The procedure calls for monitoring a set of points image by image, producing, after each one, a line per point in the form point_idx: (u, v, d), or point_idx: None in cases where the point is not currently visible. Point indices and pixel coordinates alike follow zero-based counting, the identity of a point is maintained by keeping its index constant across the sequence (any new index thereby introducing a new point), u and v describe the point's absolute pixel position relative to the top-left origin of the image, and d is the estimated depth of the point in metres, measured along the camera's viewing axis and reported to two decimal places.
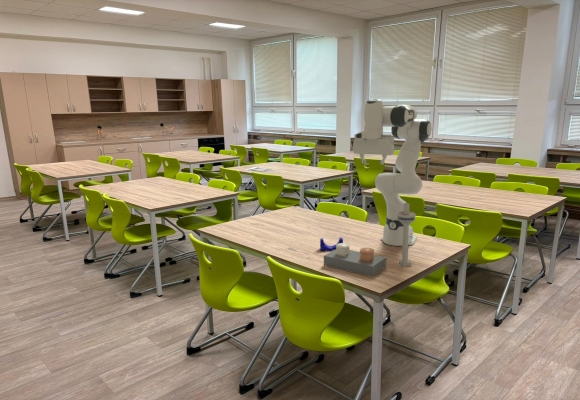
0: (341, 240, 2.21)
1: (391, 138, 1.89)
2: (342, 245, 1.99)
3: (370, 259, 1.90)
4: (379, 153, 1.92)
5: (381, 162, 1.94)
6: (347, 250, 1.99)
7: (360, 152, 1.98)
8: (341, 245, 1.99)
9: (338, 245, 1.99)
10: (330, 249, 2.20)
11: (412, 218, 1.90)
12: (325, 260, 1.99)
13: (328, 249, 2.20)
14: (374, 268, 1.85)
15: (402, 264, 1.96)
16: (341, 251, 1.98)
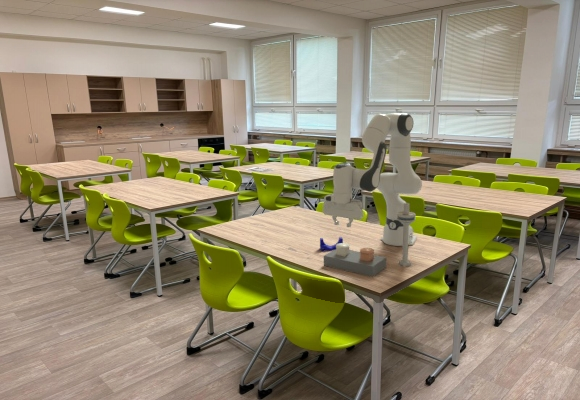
0: (341, 240, 2.21)
1: (359, 203, 1.89)
2: (342, 245, 1.99)
3: (370, 259, 1.90)
4: (348, 217, 1.93)
5: (348, 225, 1.95)
6: (347, 250, 1.99)
7: (330, 214, 1.98)
8: (341, 245, 1.99)
9: (338, 245, 1.99)
10: (330, 249, 2.21)
11: (412, 218, 1.90)
12: (325, 260, 1.99)
13: (328, 249, 2.21)
14: (374, 268, 1.85)
15: (402, 264, 1.96)
16: (341, 251, 1.98)
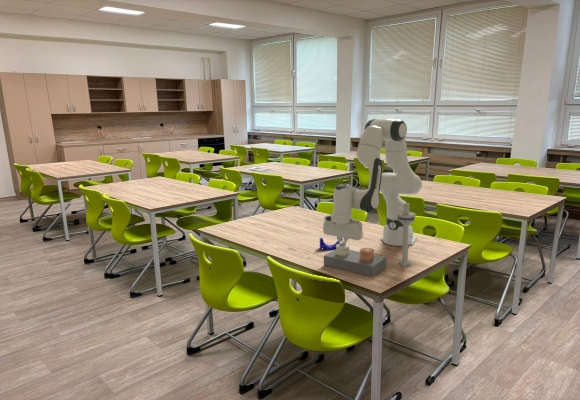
0: None
1: (359, 224, 1.91)
2: None
3: (370, 259, 1.90)
4: (348, 237, 1.95)
5: (343, 244, 1.98)
6: (347, 250, 1.99)
7: (330, 234, 2.00)
8: None
9: (338, 245, 1.99)
10: (330, 248, 2.21)
11: (412, 218, 1.90)
12: (325, 260, 1.99)
13: (328, 248, 2.21)
14: (374, 268, 1.85)
15: (402, 264, 1.96)
16: (341, 251, 1.98)
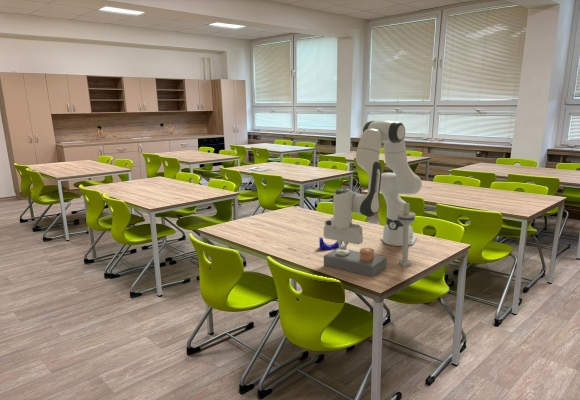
0: None
1: (359, 228, 1.92)
2: (342, 251, 2.00)
3: (370, 259, 1.90)
4: (348, 241, 1.95)
5: (343, 248, 1.99)
6: None
7: (330, 238, 2.01)
8: (341, 251, 2.00)
9: (338, 251, 2.00)
10: (330, 248, 2.22)
11: (412, 218, 1.90)
12: (325, 260, 1.99)
13: (328, 248, 2.22)
14: (374, 268, 1.85)
15: (402, 264, 1.96)
16: None
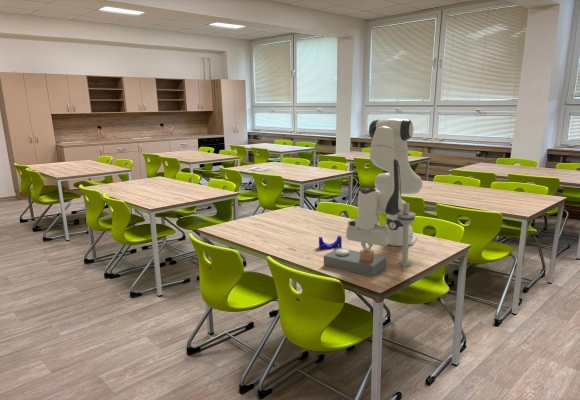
0: (340, 238, 2.24)
1: (385, 229, 1.83)
2: (342, 251, 2.00)
3: None
4: (373, 243, 1.87)
5: (367, 250, 1.90)
6: None
7: (354, 239, 1.93)
8: (341, 251, 2.00)
9: (338, 251, 2.00)
10: (329, 247, 2.23)
11: (412, 218, 1.90)
12: (325, 260, 1.99)
13: (327, 247, 2.23)
14: (374, 268, 1.85)
15: (402, 264, 1.96)
16: None
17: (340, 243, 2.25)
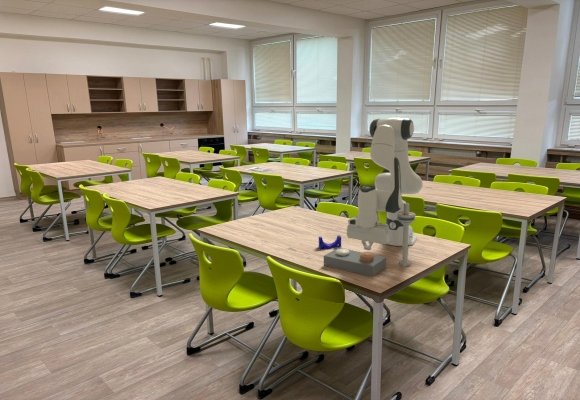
0: (339, 238, 2.25)
1: (386, 227, 1.84)
2: (342, 251, 2.00)
3: None
4: (373, 241, 1.87)
5: (368, 248, 1.91)
6: None
7: (354, 237, 1.93)
8: (341, 251, 2.00)
9: (338, 251, 2.00)
10: (329, 247, 2.24)
11: (412, 218, 1.90)
12: (325, 260, 1.99)
13: (327, 247, 2.24)
14: (374, 268, 1.85)
15: (402, 264, 1.96)
16: None
17: (340, 243, 2.26)
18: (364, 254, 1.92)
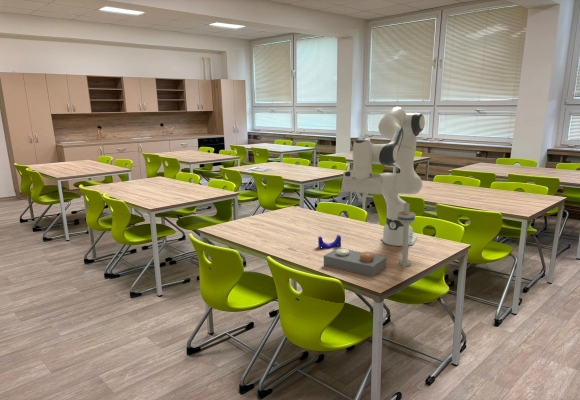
0: (339, 237, 2.26)
1: (380, 178, 1.88)
2: (342, 251, 2.00)
3: None
4: (368, 192, 1.91)
5: (362, 200, 1.95)
6: None
7: (349, 190, 1.97)
8: (341, 251, 2.00)
9: (338, 251, 2.00)
10: (329, 247, 2.24)
11: (412, 218, 1.90)
12: (325, 260, 1.99)
13: (327, 247, 2.24)
14: (374, 268, 1.85)
15: (402, 264, 1.96)
16: None
17: (339, 242, 2.26)
18: (364, 254, 1.92)
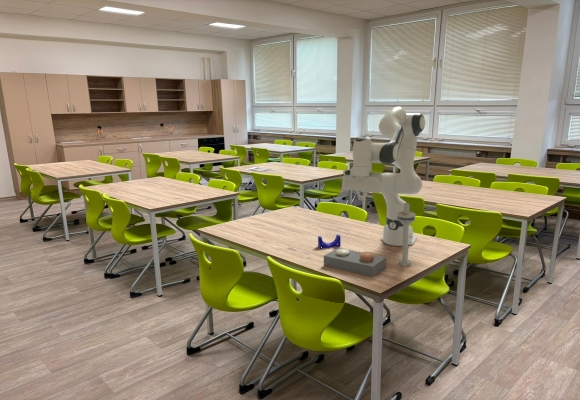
0: (339, 237, 2.26)
1: (380, 176, 1.88)
2: (342, 251, 2.00)
3: None
4: (368, 190, 1.92)
5: (362, 198, 1.95)
6: None
7: (349, 188, 1.97)
8: (341, 251, 2.00)
9: (338, 251, 2.00)
10: (328, 246, 2.25)
11: (412, 218, 1.90)
12: (325, 260, 1.99)
13: (327, 246, 2.25)
14: (374, 268, 1.85)
15: (402, 264, 1.96)
16: None
17: (339, 242, 2.27)
18: (364, 254, 1.92)
